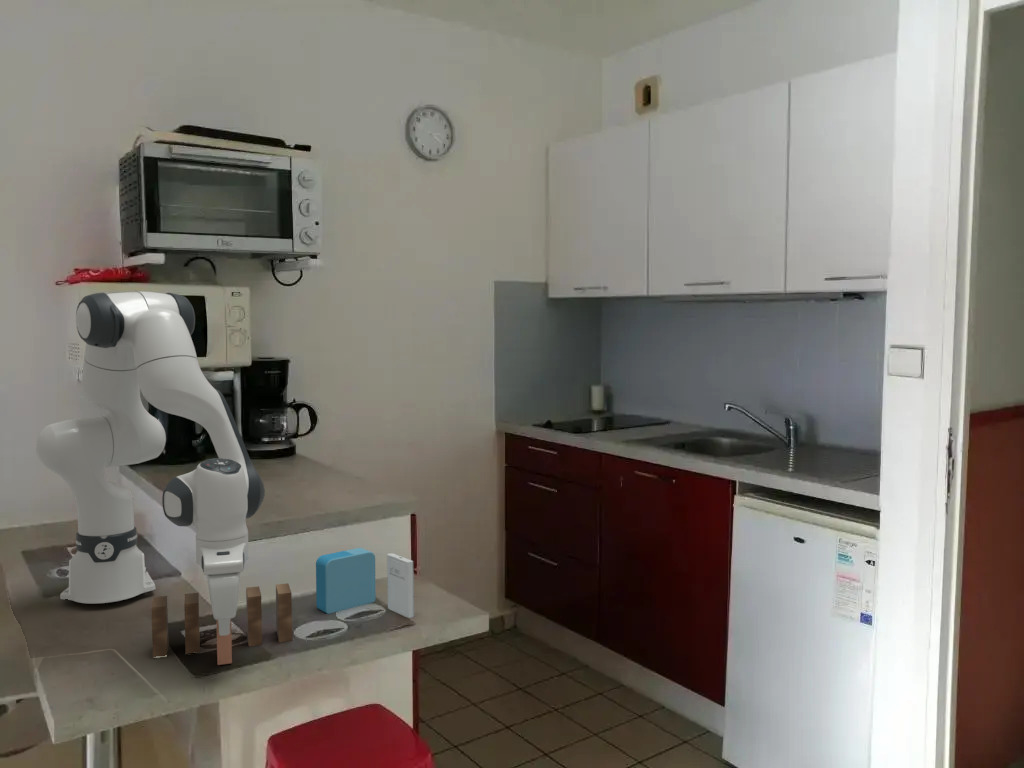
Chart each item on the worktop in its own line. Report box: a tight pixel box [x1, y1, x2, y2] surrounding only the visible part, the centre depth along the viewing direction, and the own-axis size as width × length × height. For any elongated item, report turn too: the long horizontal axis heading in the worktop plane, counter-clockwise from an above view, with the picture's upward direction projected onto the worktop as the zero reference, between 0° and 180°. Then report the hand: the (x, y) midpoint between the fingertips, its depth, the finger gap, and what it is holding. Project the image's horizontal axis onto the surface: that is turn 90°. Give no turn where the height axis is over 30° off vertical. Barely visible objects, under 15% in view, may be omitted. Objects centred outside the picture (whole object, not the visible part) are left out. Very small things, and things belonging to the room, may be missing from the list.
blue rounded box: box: [315, 547, 377, 615], centre depth 178 cm, size 12×4×12 cm, turn 131°
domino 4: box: [245, 585, 263, 647], centre depth 159 cm, size 2×6×10 cm, turn 20°
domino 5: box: [275, 583, 293, 643], centre depth 161 cm, size 2×6×10 cm, turn 21°
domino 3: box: [215, 618, 233, 666], centre depth 149 cm, size 2×6×10 cm, turn 20°
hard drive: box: [386, 552, 415, 619], centre depth 173 cm, size 2×8×12 cm, turn 41°
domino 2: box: [183, 592, 201, 654], centre depth 155 cm, size 2×6×10 cm, turn 21°
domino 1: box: [150, 595, 169, 658], centre depth 153 cm, size 2×6×10 cm, turn 20°
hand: (223, 626), depth 149 cm, fingers closed on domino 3, 6 cm apart
